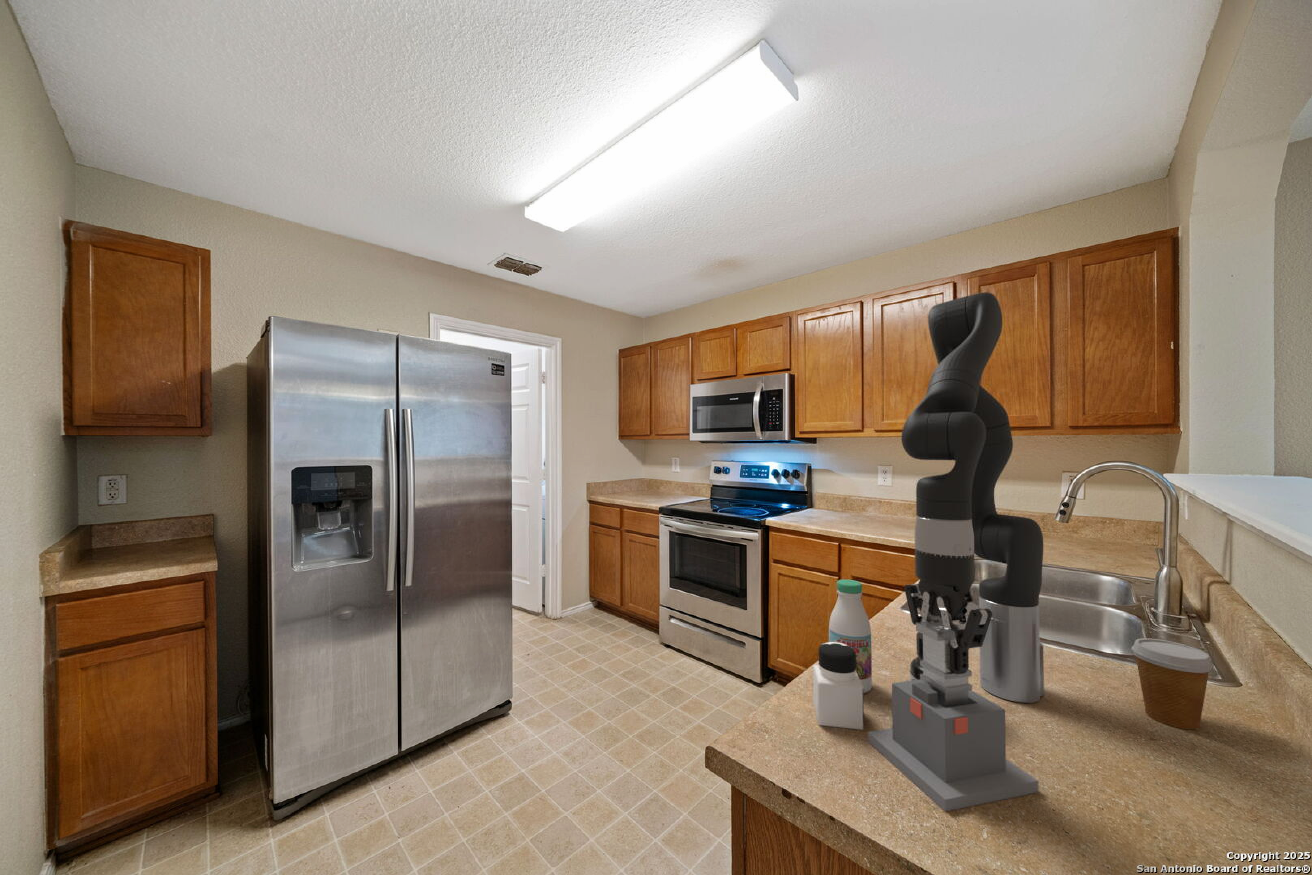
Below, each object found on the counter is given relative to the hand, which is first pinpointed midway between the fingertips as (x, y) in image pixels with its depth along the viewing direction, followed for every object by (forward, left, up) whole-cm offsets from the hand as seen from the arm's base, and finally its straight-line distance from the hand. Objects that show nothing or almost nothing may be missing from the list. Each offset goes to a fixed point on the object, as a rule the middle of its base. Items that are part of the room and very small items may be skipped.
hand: (945, 664), depth 71 cm
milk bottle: (-1, -24, -15) cm, 28 cm away
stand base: (0, 0, -14) cm, 14 cm away
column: (0, 0, -12) cm, 12 cm away
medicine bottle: (+8, -15, -15) cm, 22 cm away
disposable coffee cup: (-47, -1, -15) cm, 49 cm away
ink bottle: (-12, -14, -15) cm, 24 cm away
